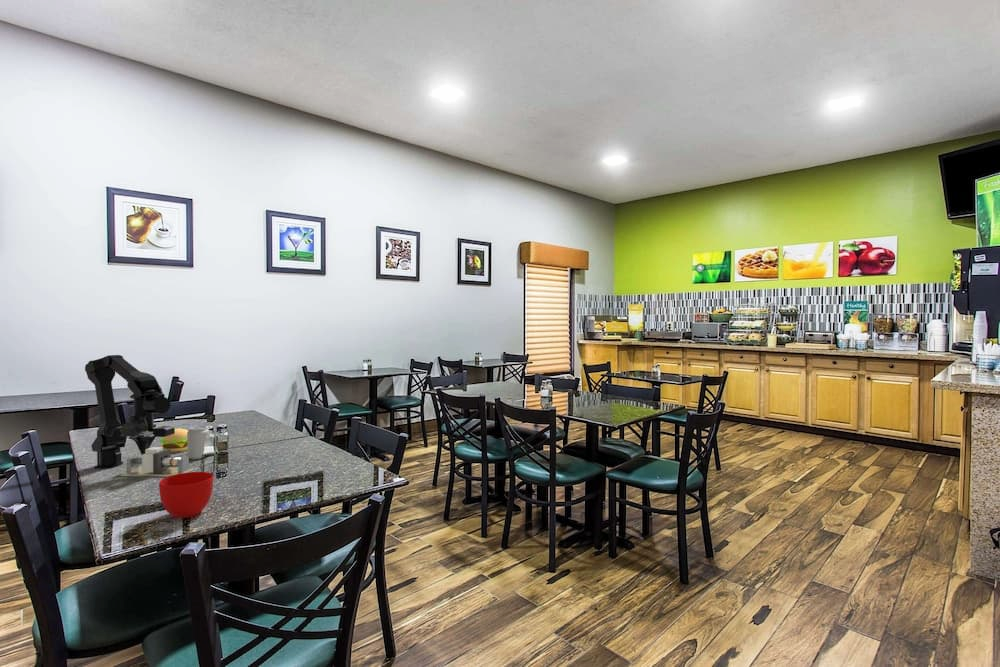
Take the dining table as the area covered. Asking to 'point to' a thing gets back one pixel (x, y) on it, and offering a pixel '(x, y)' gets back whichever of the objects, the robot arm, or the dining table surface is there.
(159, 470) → the block
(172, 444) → the hamburger
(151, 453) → the bracket
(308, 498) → the dining table surface
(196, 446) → the can
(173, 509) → the red bowl
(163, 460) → the beige mechanical fixture
